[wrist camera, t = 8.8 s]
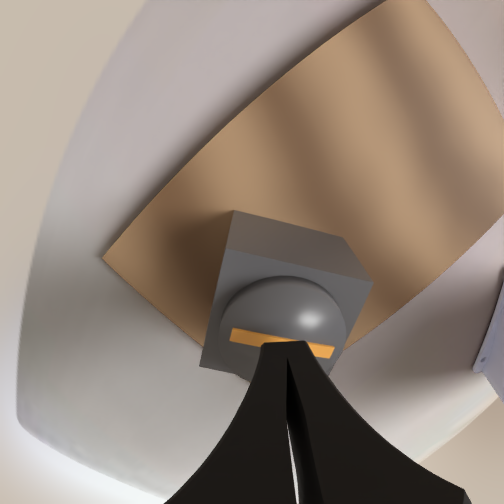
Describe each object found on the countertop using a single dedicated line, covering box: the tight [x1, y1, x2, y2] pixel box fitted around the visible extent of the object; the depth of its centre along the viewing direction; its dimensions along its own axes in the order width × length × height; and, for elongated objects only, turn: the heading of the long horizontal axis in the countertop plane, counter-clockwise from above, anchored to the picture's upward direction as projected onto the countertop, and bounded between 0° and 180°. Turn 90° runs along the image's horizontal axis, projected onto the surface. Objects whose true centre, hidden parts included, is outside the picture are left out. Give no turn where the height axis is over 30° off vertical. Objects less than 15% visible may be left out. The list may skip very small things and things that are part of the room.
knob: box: [199, 210, 374, 382], centre depth 13 cm, size 5×5×5 cm
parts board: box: [102, 0, 504, 383], centre depth 15 cm, size 21×13×1 cm, turn 133°
